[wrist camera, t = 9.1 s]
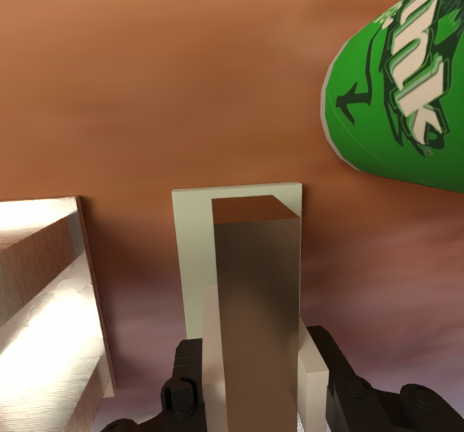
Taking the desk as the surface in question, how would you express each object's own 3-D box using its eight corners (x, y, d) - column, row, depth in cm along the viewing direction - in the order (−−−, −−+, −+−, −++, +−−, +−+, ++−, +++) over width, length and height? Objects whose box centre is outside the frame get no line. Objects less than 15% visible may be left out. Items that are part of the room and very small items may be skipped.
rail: (274, 415, 16) (296, 501, 12) (226, 421, 16) (232, 510, 12) (272, 194, 13) (300, 217, 9) (211, 198, 13) (213, 224, 9)
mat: (193, 380, 19) (192, 390, 18) (173, 189, 16) (171, 192, 15) (294, 369, 20) (298, 378, 19) (297, 181, 16) (301, 184, 15)
